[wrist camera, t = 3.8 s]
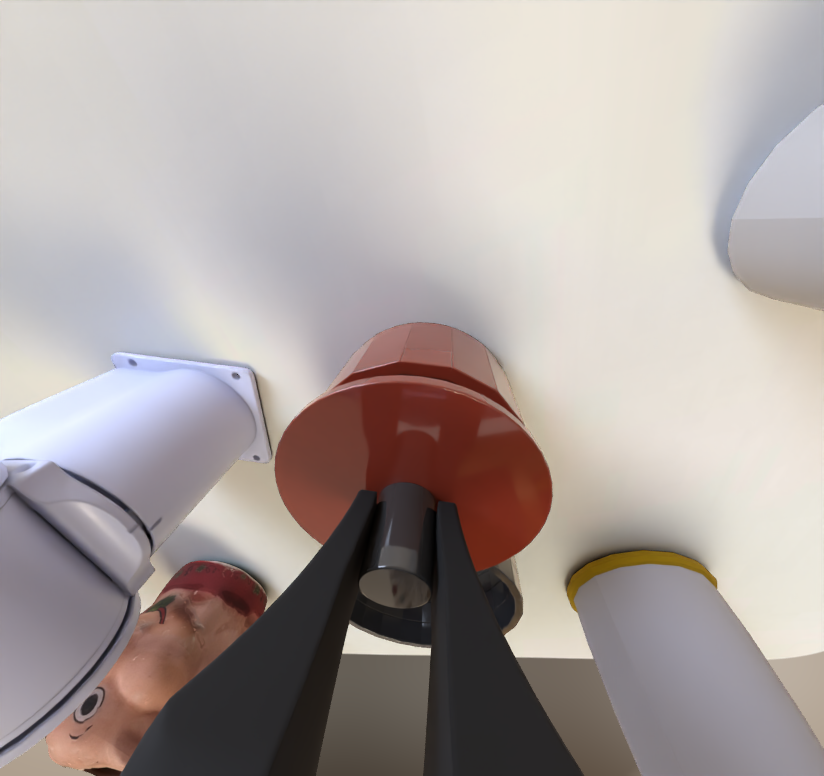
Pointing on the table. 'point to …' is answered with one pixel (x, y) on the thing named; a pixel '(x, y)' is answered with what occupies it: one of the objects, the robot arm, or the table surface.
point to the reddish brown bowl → (431, 361)
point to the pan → (416, 622)
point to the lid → (414, 476)
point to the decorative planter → (158, 664)
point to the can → (784, 220)
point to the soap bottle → (687, 672)
